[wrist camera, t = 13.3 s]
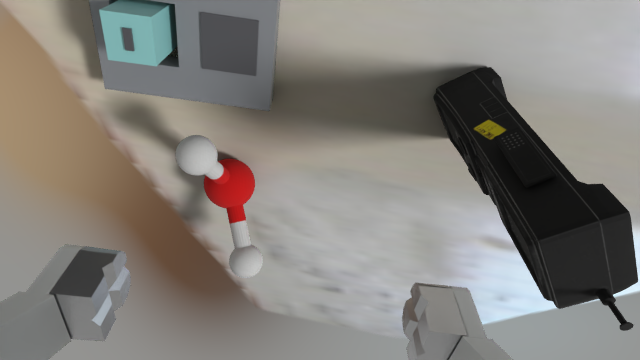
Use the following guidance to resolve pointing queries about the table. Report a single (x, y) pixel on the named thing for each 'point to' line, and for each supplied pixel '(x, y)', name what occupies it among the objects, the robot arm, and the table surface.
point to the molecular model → (224, 195)
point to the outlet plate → (206, 54)
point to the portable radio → (540, 197)
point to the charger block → (139, 31)
